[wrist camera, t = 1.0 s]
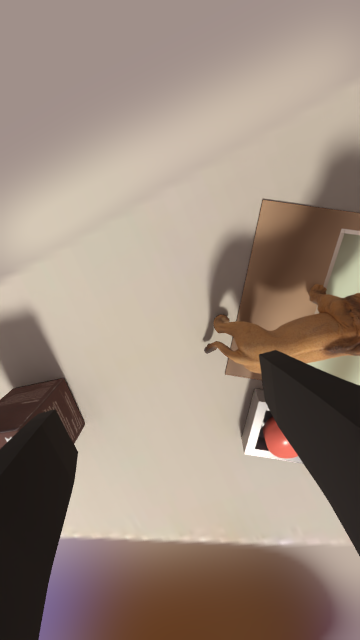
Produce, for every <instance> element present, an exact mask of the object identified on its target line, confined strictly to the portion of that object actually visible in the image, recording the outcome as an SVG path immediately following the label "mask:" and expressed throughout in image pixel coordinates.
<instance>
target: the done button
mask: <svg viewBox="0 0 360 640" xmlns="http://www.w3.org/2000/svg"><path fill="white" fill-rule="evenodd" d="M263 434H264V438H265V441H266V445H267V448H268V450H269V451H270V452H271V453H272V454H273V455H275V456H277V457H279V458H285V459H288V458H294V457H297V456H298V455H297V453H296V452H295V451H294V449H293V448H292V446H291V445H290V443H289V442H288V440H287V439H286V437H285V436H284V434H283V433H282V431H281V430H280V428H279V427H278V425H277V423H276V421H275V420H274V418H273V417H271V418H270V419H268V420H267V421H266V423H265V424H264V427H263Z"/></svg>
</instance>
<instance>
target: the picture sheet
mask: <svg viewBox="0 0 360 640" xmlns="http://www.w3.org/2000/svg"><path fill="white" fill-rule="evenodd" d="M315 284H319V285H323V286H324V287H325V288H326V289H327V291H326V294H330V295H334V296H338V297H340V298H345V297H347V296H350V295H353V294H356V293H360V213H355V212H348V211H341V210H333V209H326V208H319V207H311V206H304V205H297V204H289V203H282V202H275V201H267V200H263V202H262V206H261V211H260V216H259V220H258V225H257V229H256V234H255V239H254V243H253V248H252V252H251V257H250V262H249V266H248V271H247V276H246V280H245V285H244V289H243V294H242V299H241V303H240V308H239V312H238V317H237V321H244V322H249V323H253V324H257V325H259V326H260V327H262V328H264V329H265V330H268V331H273V330H276V329H277V328H278V327H280V326H281V325H283V324H285V323H287V322H290V321H292V320H295V319H298V318H301V317H305V316H309V315H313V314H318V313H319V312H318V310H317V308H318V306H317V304H314V303H312V302H310V300H309V299H310V298H309V292H310V290H311V288H312V287H313V286H314V285H315ZM231 349H232V350H233V351H235V350H237V349H238V347H237V344H236V342H235V339H234V338H233V340H232V345H231ZM306 364H309V365H311V366H313V367H315V368H318V369H320V370H322V371H325V372H327V373H329V374H332V375H334V376H336V377H339V378H341V379H344V380H346V381H349V382H352V383H354V384H357V385H360V356H350V355H347V356H340V357H335V358H330V359H326V360H321V361H317V362H311V363H306ZM225 374H226V375H232V376H238V377H245V378H251V379H257V380H262V376H261V373H254V372H251V371H249V370H248V369H246V368H245V367H244V366H243V365H242V364H239V363H236V362H234V361H233V360H231V359H230V358H229V359H228V363H227V368H226V372H225Z"/></svg>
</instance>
